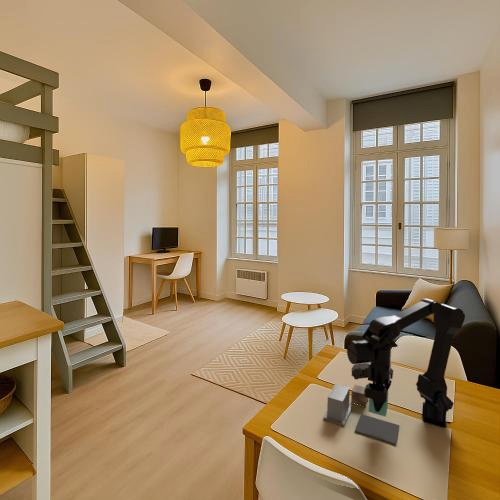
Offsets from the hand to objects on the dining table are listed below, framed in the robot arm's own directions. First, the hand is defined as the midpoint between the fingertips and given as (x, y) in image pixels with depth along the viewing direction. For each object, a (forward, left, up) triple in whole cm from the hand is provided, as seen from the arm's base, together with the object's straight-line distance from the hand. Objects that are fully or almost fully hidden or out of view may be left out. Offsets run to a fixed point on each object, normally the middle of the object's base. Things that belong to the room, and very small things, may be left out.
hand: (378, 407), depth 101 cm
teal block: (0, 0, -1) cm, 1 cm away
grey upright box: (+13, -2, -8) cm, 15 cm away
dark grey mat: (0, 0, -8) cm, 8 cm away
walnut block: (+8, -13, -8) cm, 17 cm away
